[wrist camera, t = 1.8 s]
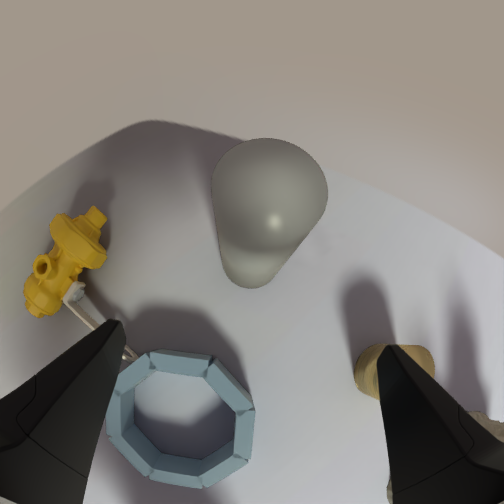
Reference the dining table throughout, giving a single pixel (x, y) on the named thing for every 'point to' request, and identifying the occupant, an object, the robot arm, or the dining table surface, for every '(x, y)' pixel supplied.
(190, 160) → the dining table surface
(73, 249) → the pressure relief valve
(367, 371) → the short brass cylinder
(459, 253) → the dining table surface
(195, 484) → the collar
